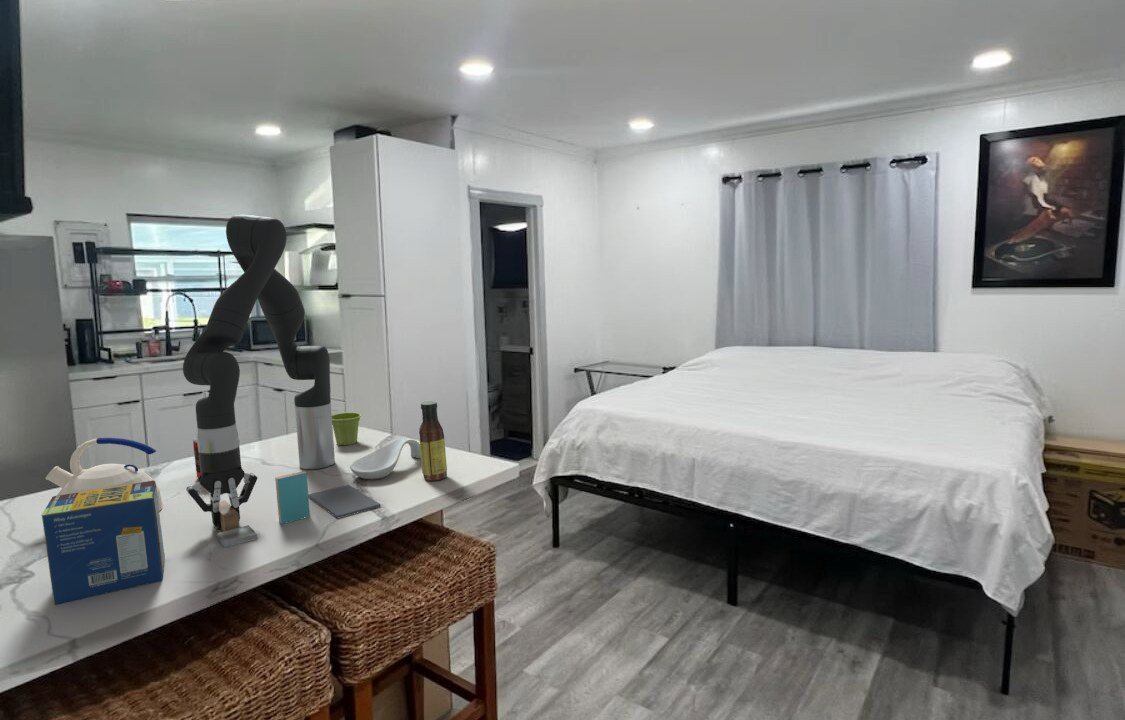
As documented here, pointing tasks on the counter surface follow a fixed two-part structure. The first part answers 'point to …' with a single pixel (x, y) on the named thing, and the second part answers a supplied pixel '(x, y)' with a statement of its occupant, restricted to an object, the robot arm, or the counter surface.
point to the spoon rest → (383, 459)
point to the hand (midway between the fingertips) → (226, 525)
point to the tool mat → (343, 500)
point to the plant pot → (346, 427)
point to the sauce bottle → (432, 444)
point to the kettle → (100, 471)
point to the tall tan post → (232, 527)
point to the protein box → (103, 541)
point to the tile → (292, 497)
